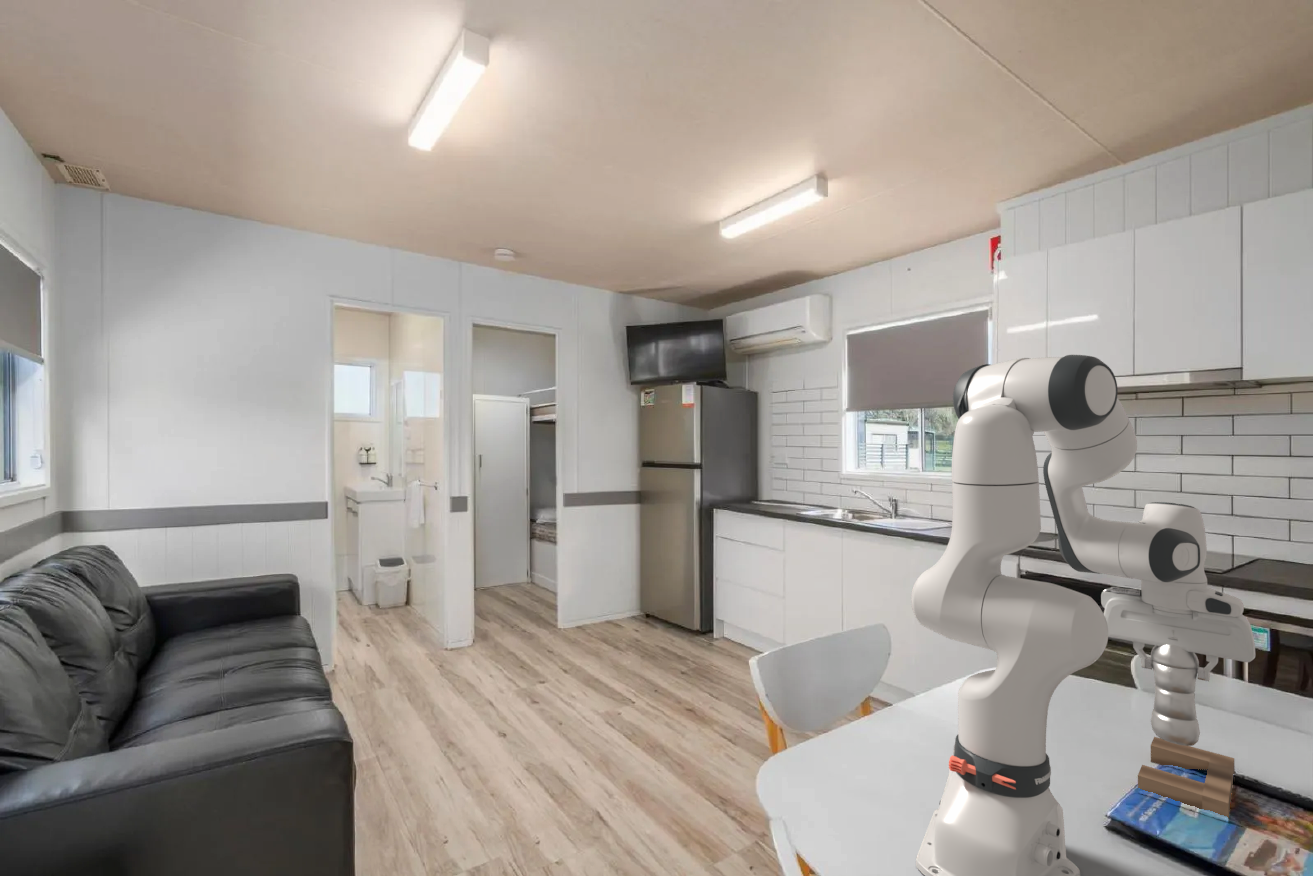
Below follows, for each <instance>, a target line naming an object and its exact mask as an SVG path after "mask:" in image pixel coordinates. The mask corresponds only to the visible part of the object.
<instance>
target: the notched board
mask: <svg viewBox="0 0 1313 876" xmlns="http://www.w3.org/2000/svg"><path fill="white" fill-rule="evenodd" d="M1150 762H1151V763H1153V764H1157V765H1161V766H1163V765H1173V766H1178V767H1182V768H1185V769H1198V770H1199V769H1200V770H1201V769H1202V770H1203V769H1204V770H1205V769H1206V770H1207V769H1208V770H1207V775H1206V778H1205V779H1204V780H1205V781H1204V782H1203V781H1199V780H1195V779H1193V778H1189V777H1185V776H1182V775H1178V774H1175V773H1171V772H1169V771H1165V770H1163V769H1162V770H1161V769H1159V768H1155V767H1152V766H1147V765H1145V764H1141V767H1140V769H1139V770H1138V773H1137V789H1138V788H1140V789H1142V790H1145V791H1148V792H1153V793H1156V794H1158V795H1161V796H1163V797H1168V798H1171V799H1173V800H1175V801H1180V802H1182V803H1184V804H1187V805H1190V806H1195V807H1197V808H1199V809H1204V810H1210V811H1213V812H1215V813H1218V814H1220V815H1224V816H1227V817H1228V818H1229V819H1230V817H1229V810H1230V811H1231V809H1230V802H1231V803H1232V801H1231V793H1232V784H1233V774H1235V775H1236V772H1235V768H1236V767H1235V758H1234V757H1230V756H1227V755H1224V754H1220V753H1217V752H1213V751H1209V750H1206V749H1202V748H1197V747H1194V746H1184V745H1178V744H1174V743H1171V742H1168V741H1165V740H1163V739H1161V738H1159V737H1158V736H1154V737H1153V739H1152V741H1151V743H1150ZM1232 794H1233V793H1232Z"/></svg>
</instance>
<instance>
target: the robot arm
mask: <svg viewBox="0 0 1313 876" xmlns="http://www.w3.org/2000/svg"><path fill="white" fill-rule="evenodd" d="M1118 397H1119V396H1118V382H1117V379H1116V376H1115V374H1114V372H1113V370H1112V369H1111V368H1110V366H1109V365H1108V364H1106V363H1105V362H1104V361H1102V360H1101V359H1100V358H1098V357H1095V356H1091V355H1085V354H1067V355H1065V356H1051V357H1050V356H1049V357H1048V356H1047V357H1035V358H1034V357H1033V358H1030V357H1022V358H1016V359H1011V360H1004V361H1001V362H996V363H992V364H989V363H986V364H982V365H977V366H975V367H973V368H972V367H971V368H970V369H968V370H966V371H964V372H963V373H962V374H961V375H960V377H959V378H958V381H956V383H955V385H954V389H953V393H952V404H953V409H954V413H955V414H956V416H957V418H958V420H957V422H956V426H955V431H954V437H953V443H952V452H951V491H952V497H951V498H952V499H951V500H952V520H951V521H952V522H951V523H952V524H951V532H950V537H949V539H948V543H947V546H946V548H945V549H944V552H943V554H942V555H941V556H940V558H939V559H938V560H937V561H936V562H935V564H934V565H932V566H931V567H929V568H927V569H926V570H924V571H923V572H922V573H921V574H920V575H919V576H918V577H917V579H916V580H915V582H914V583H913V586H912V589H911V594H910V600H911V601H910V603H911V604H910V605H911V608H912V611H913V614H914V616H915V618H916V620H917V621H918V623H919V625H921V626H923V628H926V629H928V630H930V631H932V632H933V633H936V634H938V635H941V636H942V637H945V638H946V639H949V640H952V641H956V642H959V643H964V644H966V645H971V646H975V647H979V648H982V649H987V650H989V651H993V652H994V653H996V655H997V659H996V660H997V661H996V667H995V669H993V670H985V671H982V672H978V673H975V674H972V675H970V676H969V677H967V678H966V679H965V680H964V681H963V682H962V684H961V685H960V687H959V688H958V692H957V705H958V706H957V708H958V709H957V710H958V711H957V713H958V714H957V719H958V720H957V723H958V724H957V726H958V728H957V730H958V731H957V733H958V734H957V735H956V736H955V738H954V739H955V742H954V745H953V751H952V754H951V756H950V757H949V760H948V769H949V773H948V776H947V779H946V783H945V785H944V786H945V787H944V789H943V792H942V793H943V794H942V796H941V799H940V800H939V806H938V808H937V809H934V811H933V813H932V816H931V819H930V821H929V823H928V826H927V828H926V831H925V834H924V837H923V839H922V842H921V844H920V847H919V850H918V852H917V856H916V858H915V867H916V869H917V870H918V871H919V872H921V874H923V875H924V876H1081V871H1080V869H1079V867H1078V866H1077V865H1076V864H1075V863H1074V862H1072V860H1070V859H1069V858H1068V857H1067V850H1066V835H1065V833H1066V832H1065V819H1064V809H1063V807H1062V806H1061V804H1060V803H1059V801H1058V800H1057V799H1056V798H1055V797H1054V795H1053V793H1052V791H1051V789H1050V786H1051V774H1052V766H1051V764H1050V757H1049V754H1048V753H1047V727H1048V712H1049V706H1050V702H1051V698H1052V697H1053V694H1054V692H1055V690H1056V689H1057V688H1058V687H1059V685H1060V684H1061V683H1062V682H1063V681H1064V680H1065V679H1066V678H1067V677H1069V676H1070V675H1072V674H1074V673H1076V672H1078V671H1080V670H1083V669H1085V668H1087V667H1089V666H1091V665H1092V664H1094V663H1095V662H1097V660H1098V659H1099V658H1100V657H1101V656H1102V654H1103V653H1104V651H1105V649H1106V647H1107V645H1108V640H1109V638H1112V639H1118V640H1123V641H1128V642H1132V647H1133V649H1134V651H1135V652H1136V654H1137V655H1138V657H1139V658H1140V662H1141V663H1140V667H1141V668H1142V669H1146V670H1152V671H1153V665H1152V659H1151V656H1150V657H1149V656H1147V654H1146V653H1145V651H1144V647H1145V646H1146V645H1151V646H1164V645H1176V646H1179V647H1181V648H1182V649H1184V650H1186V651H1188V652H1194V653H1195V654H1199V655H1205V656H1206V658H1205V660H1206V662H1208V663H1207V664H1206V666H1205V667H1200V666H1199V667H1198V669H1197V680H1200V681H1205V682H1210V680H1211V676H1210V674H1211V671H1212V670H1213V669H1214V668H1215V667H1216V666H1217V664H1218V663H1219V658H1222V659H1227V660H1233V661H1239V662H1243V663H1250V662H1252V661H1253V660H1254V659H1255V658H1256V645H1255V639H1254V633H1253V629H1252V625H1251V623H1250V621H1249V620H1248V618H1247V617H1246V616H1245V615H1243V613H1244V608H1245V607H1244V602H1243V600H1241V599H1240V598H1239V597H1237V596H1233V595H1230V594H1227V593H1224V592H1222V591H1219V590H1216V589H1214V588H1210V587H1208V578H1207V575H1206V573H1205V562H1206V560H1207V556H1208V555H1207V554H1208V553H1207V552H1208V551H1207V535H1206V530H1205V524H1204V520H1203V519H1204V518H1203V516H1202V513H1201V510H1199V509H1198V508H1196V507H1195V506H1192V505H1189V504H1184V503H1183V504H1182V503H1174V502H1165V501H1161V502H1160V501H1154V502H1148V503H1146V504H1145V506H1144V508H1143V513H1142V519H1141V520H1139V521H1138V522H1128V521H1127V522H1126V521H1118V520H1117V521H1116V520H1107V519H1103V518H1100V517H1096V516H1094V515H1092V514H1091V513H1090V512H1089V510H1088V506H1087V501H1086V498H1085V493H1084V490H1083V487H1086V486H1089V485H1093V484H1097V483H1101V482H1105V481H1107V480H1110V479H1111V478H1113V477H1115V476H1117V475H1119V473H1121V472H1123V471H1124V470H1125V469H1126V468H1127V467H1128V466H1129V465H1130V464H1131V463H1132V461H1133V459H1134V458H1135V456H1136V453H1137V450H1138V441H1137V440H1138V439H1137V434H1136V432H1135V429H1134V428H1133V425H1132V423H1131V420H1130V418H1129V416H1128V415H1127V412H1126V410H1125V408H1124V406H1123V404H1122V402H1121V400H1120V399H1119V398H1118ZM1040 432H1041V433H1042V432H1044V436H1045V438H1046V440H1047V442H1048V444H1049V446H1050V449H1051V452H1050V453H1049V454H1048V455H1046V458H1045V459H1044V463H1043V466H1042V467H1043V470H1042V471H1043V472H1042V473H1043V479H1044V486H1045V489H1046V493H1047V497H1048V499H1049V504H1050V508H1051V512H1052V515H1053V518H1054V522H1055V525H1056V529H1057V539H1058V540H1057V541H1058V548H1059V549H1058V550H1059V554H1060V555H1061V556H1062V558H1063V560H1064V562H1066V564H1068V566H1070V568H1072V569H1073V570H1074V571H1077V572H1080V573H1087V574H1088V573H1090V574H1097V575H1100V574H1101V575H1102V574H1103V575H1110V576H1115V577H1122V578H1126V579H1135V580H1140V589H1133V588H1122V587H1120V586H1111V587H1109V588H1105V589H1104V590H1102V591H1101V592H1100V593H1101V594H1100V603H1101V606H1102V608H1104V611H1103V610H1102V609H1101V607H1100V606H1099V605H1098V603H1097V602H1096V601H1095V600H1094V599H1093V598H1092V596H1089V595H1087V594H1085V593H1082V592H1079V591H1076V590H1073V589H1071V588H1067V587H1065V586H1061V585H1059V584H1055V583H1051V582H1047V581H1039V580H1033V579H1028V578H1023V577H1022V578H1021V577H1015V576H1008V575H1005V574H1002V570H1001V568H1002V567H1001V566H1002V560H1003V558H1004V556H1007V555H1010V554H1014V553H1016V552H1018V551H1021V550H1024V549H1025V548H1028V547H1029V546H1030V545H1032V544H1033V543H1034V542H1035V541H1036V540H1037V538H1038V537H1039V535H1040V533H1041V530H1042V527H1041V525H1042V522H1041V519H1042V518H1041V501H1040V500H1041V499H1040V498H1041V497H1040V482H1039V480H1040V479H1039V478H1040V476H1039V465H1038V457H1037V452H1036V447H1035V446H1036V445H1035V441H1034V438H1033V436H1034V433H1040ZM1172 630H1173V631H1174V637H1175V638H1178V640H1172V639H1168V636H1169V637H1173V633H1172ZM1145 644H1146V645H1145Z"/></svg>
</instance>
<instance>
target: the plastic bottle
mask: <svg viewBox="0 0 1313 876" xmlns="http://www.w3.org/2000/svg"><path fill="white" fill-rule="evenodd" d="M1172 633H1173V637H1169V636H1168V639H1172V640H1178V638H1175V637H1174V631H1173V630H1172ZM1150 657H1151V659H1152V665H1153V669H1152V671H1153V676H1154V677H1153V678H1154V700H1153V709H1152V712H1151V718H1150V724H1151V725H1150V726H1151V729H1152V731H1153V733H1154V734H1155V735H1156V737H1157V738H1161V739H1163V740H1165V741H1168V742H1171V743H1174V744H1178V745H1184V746H1191V747H1193V746H1195V745H1196V743H1198V742H1199V739H1200V736H1201V735H1200V734H1201V730H1200V724H1199V720H1198V719H1197V718H1198V717H1197V708H1196V701H1195V697H1196V694H1195V692H1196V682H1197V679H1198V673H1197V669H1198V667H1200V665H1199V664H1200V661H1199V659H1198V656H1197V653H1194V652H1188V651H1186V650H1184V649H1182V648H1181V647H1179V646H1176V645H1164V646H1155V645H1153V646H1152V649H1151V652H1150Z"/></svg>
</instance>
